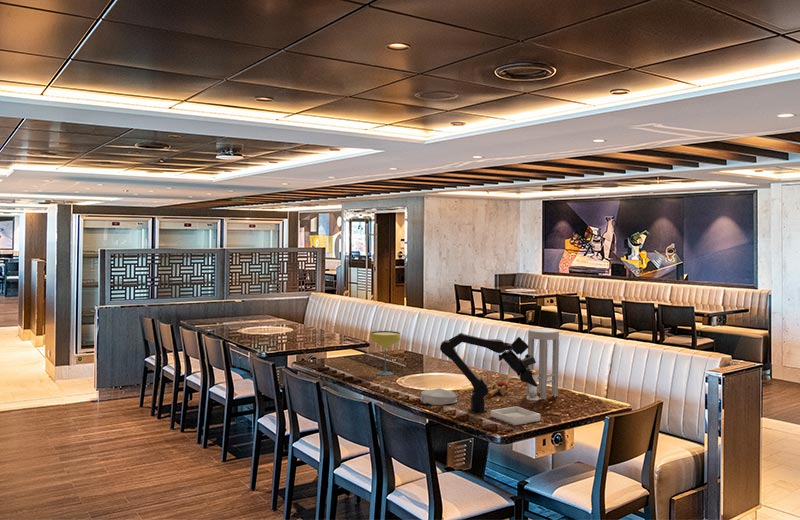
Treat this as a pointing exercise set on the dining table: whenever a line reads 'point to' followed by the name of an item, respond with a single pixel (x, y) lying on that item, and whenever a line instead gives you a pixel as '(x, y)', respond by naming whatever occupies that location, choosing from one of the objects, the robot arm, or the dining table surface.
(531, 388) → the pin
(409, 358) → the dining table surface
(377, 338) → the cocktail glass
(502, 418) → the pin tray
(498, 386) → the kendama
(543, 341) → the stool
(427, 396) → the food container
